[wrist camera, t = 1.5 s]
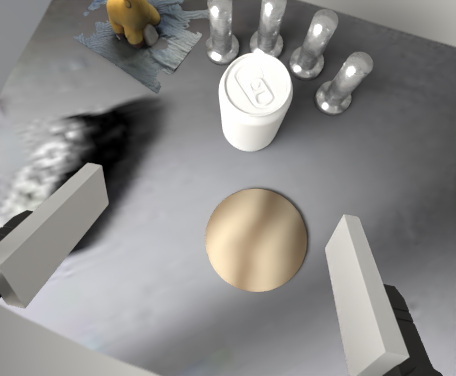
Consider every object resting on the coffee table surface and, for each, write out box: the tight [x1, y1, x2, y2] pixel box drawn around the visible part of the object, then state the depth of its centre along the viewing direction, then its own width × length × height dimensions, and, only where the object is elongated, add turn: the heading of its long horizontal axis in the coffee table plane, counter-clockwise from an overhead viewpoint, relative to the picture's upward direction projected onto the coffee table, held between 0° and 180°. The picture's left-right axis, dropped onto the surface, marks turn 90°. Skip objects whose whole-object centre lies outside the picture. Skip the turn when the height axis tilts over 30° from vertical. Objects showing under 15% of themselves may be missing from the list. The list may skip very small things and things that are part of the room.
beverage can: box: [219, 53, 293, 151], centre depth 33 cm, size 8×8×12 cm
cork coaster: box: [205, 189, 307, 292], centre depth 37 cm, size 14×14×1 cm
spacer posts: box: [206, 0, 373, 116], centre depth 36 cm, size 23×12×9 cm, turn 78°
